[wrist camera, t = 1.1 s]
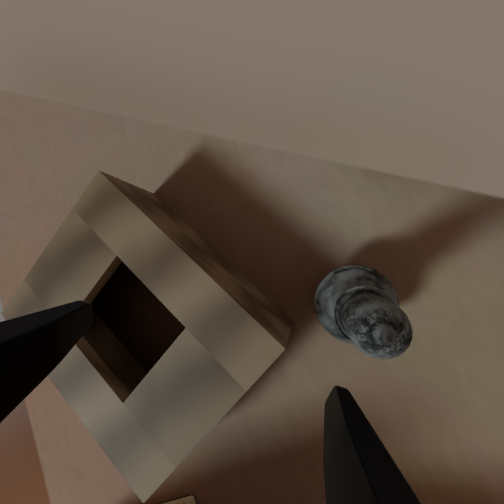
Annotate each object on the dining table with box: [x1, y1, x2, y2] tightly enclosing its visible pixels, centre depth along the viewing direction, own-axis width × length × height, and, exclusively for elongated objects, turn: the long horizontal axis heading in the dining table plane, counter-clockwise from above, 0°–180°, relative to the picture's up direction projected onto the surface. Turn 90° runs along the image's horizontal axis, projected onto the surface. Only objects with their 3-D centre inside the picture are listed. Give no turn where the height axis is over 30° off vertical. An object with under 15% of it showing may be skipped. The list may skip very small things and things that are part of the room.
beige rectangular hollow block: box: [2, 171, 294, 503], centre depth 22 cm, size 20×16×7 cm
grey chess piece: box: [314, 265, 413, 359], centre depth 16 cm, size 6×6×12 cm
